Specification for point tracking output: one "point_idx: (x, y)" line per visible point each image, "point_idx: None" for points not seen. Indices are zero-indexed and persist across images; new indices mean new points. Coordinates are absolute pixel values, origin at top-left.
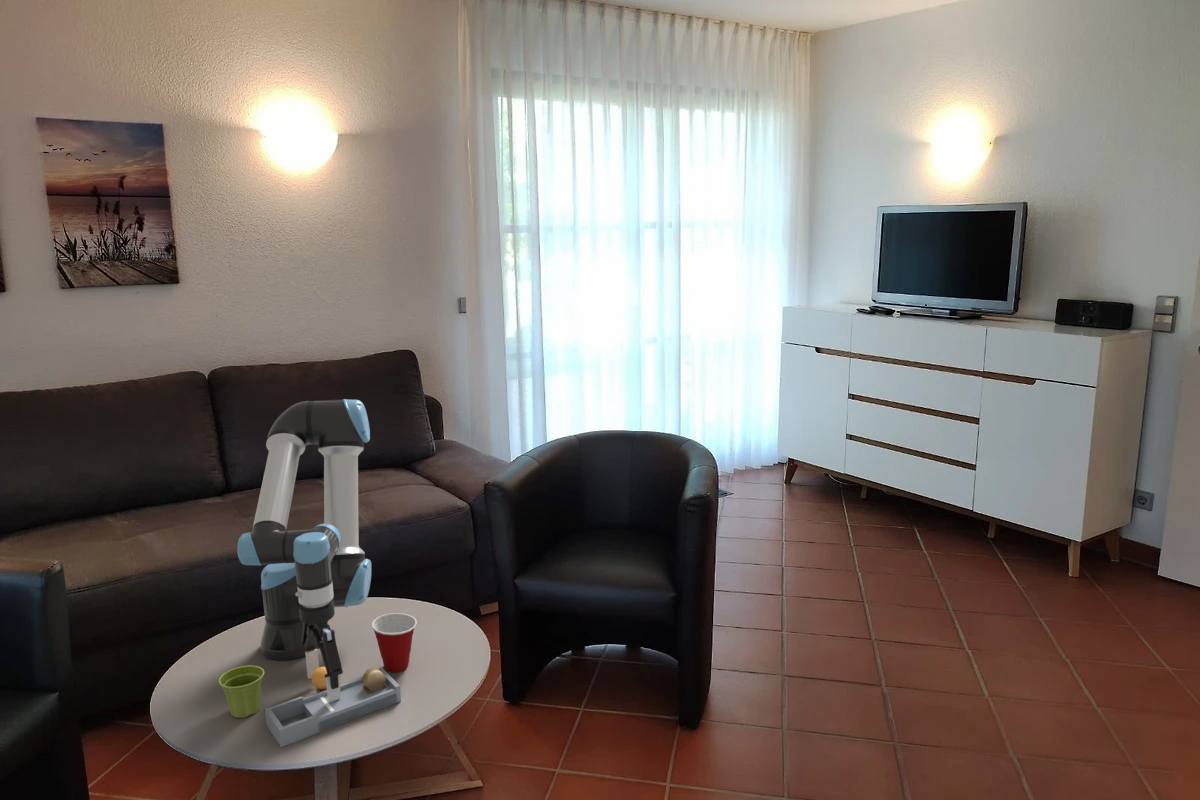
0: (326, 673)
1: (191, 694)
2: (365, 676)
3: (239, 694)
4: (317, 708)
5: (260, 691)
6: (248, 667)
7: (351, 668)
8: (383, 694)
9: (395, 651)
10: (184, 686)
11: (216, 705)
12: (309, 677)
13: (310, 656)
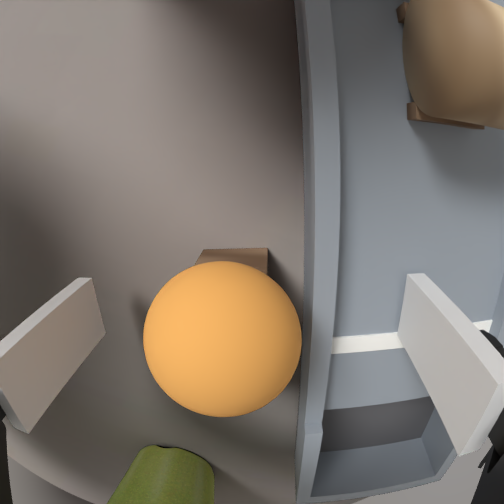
0: (275, 366)
1: (63, 474)
2: (486, 106)
3: None
4: (402, 376)
5: (175, 494)
6: None
7: (58, 91)
8: None
9: None
10: (35, 464)
11: (120, 478)
12: (102, 331)
13: (33, 393)
